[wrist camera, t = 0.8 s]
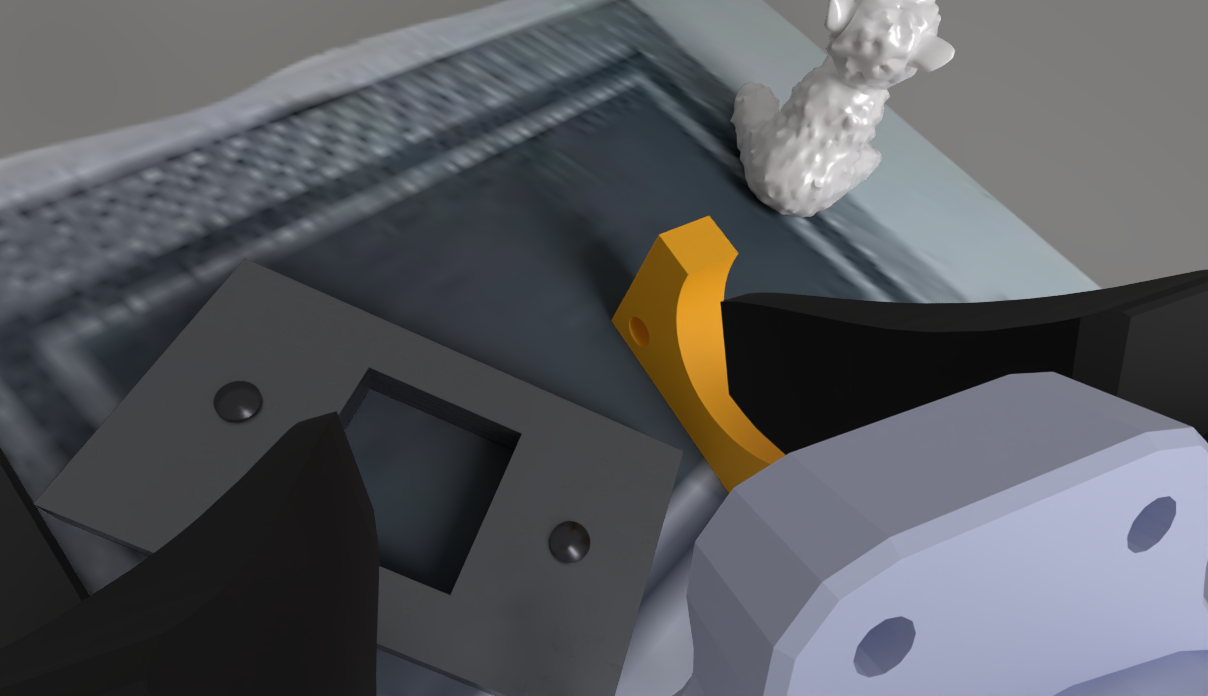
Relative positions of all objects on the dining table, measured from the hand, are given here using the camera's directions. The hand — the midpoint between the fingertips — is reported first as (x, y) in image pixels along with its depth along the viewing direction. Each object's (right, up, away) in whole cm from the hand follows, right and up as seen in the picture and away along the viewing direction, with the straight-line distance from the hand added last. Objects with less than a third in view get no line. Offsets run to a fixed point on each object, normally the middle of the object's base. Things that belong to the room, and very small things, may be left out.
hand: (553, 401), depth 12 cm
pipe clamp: (+6, -2, +17) cm, 19 cm away
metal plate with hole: (-6, -4, +12) cm, 14 cm away
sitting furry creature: (+11, +11, +26) cm, 31 cm away
